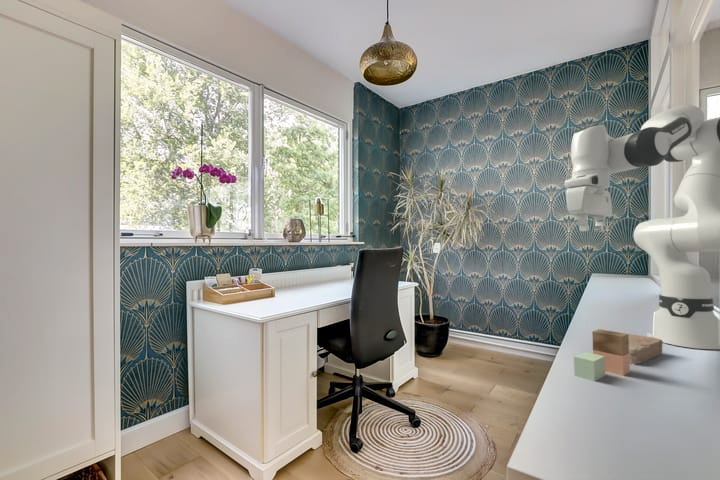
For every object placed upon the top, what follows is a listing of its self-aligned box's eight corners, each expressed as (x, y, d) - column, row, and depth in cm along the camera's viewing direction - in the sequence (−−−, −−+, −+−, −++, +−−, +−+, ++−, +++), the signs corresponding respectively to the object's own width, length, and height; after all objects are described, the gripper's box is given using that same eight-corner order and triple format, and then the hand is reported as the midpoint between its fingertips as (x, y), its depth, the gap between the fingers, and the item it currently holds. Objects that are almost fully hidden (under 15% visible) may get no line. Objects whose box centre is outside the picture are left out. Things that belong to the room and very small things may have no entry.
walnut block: (592, 349, 81) (592, 331, 81) (599, 347, 84) (599, 329, 84) (622, 356, 76) (622, 336, 77) (628, 353, 79) (628, 334, 79)
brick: (636, 366, 83) (635, 347, 83) (598, 357, 90) (598, 339, 90) (664, 356, 91) (663, 339, 91) (627, 348, 98) (627, 332, 98)
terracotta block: (593, 368, 81) (593, 349, 81) (600, 365, 83) (599, 347, 84) (623, 376, 76) (622, 356, 76) (629, 372, 78) (629, 353, 79)
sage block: (585, 370, 80) (585, 351, 80) (605, 375, 77) (604, 356, 77) (574, 376, 77) (574, 356, 77) (594, 381, 73) (593, 361, 73)
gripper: (593, 188, 102) (594, 233, 102) (561, 181, 90) (562, 231, 90) (617, 184, 97) (619, 232, 96) (587, 176, 85) (588, 230, 85)
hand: (591, 231), depth 93 cm, fingers open, 8 cm apart
